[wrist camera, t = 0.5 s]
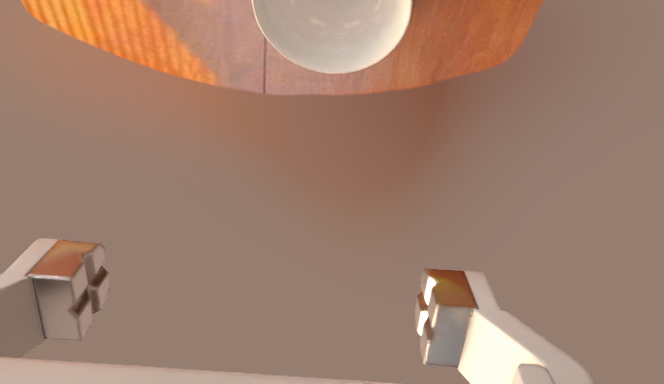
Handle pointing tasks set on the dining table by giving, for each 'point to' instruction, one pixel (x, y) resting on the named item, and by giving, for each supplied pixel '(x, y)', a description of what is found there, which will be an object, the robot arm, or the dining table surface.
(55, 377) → the robot arm
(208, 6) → the dining table surface
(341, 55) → the cereal bowl
